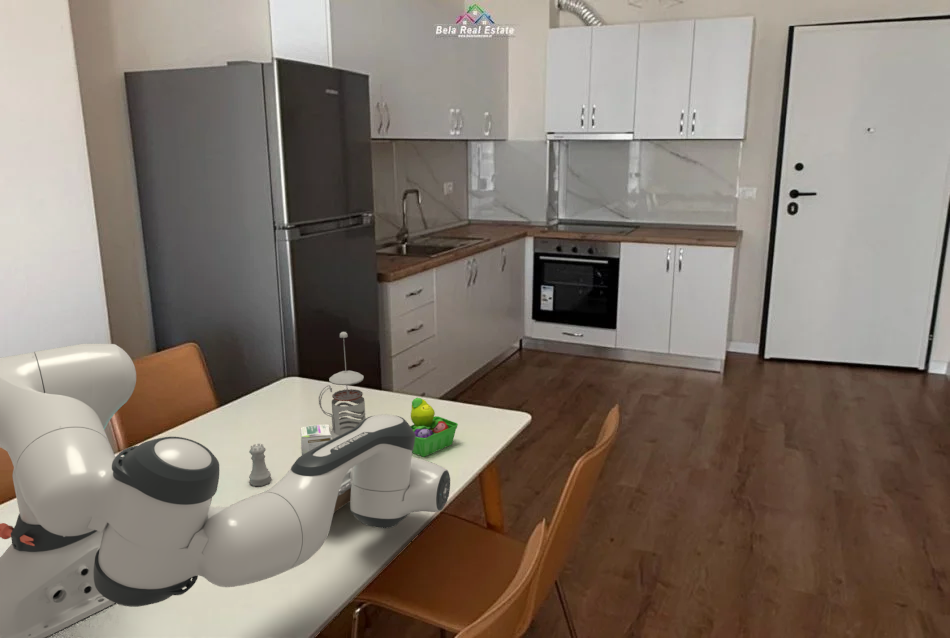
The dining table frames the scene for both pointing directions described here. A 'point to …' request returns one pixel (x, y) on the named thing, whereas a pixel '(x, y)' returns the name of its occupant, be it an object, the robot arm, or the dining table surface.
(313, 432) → the syrup box
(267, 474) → the rook chess piece
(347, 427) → the french press
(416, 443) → the fruit basket
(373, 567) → the dining table surface
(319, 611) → the dining table surface
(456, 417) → the dining table surface
